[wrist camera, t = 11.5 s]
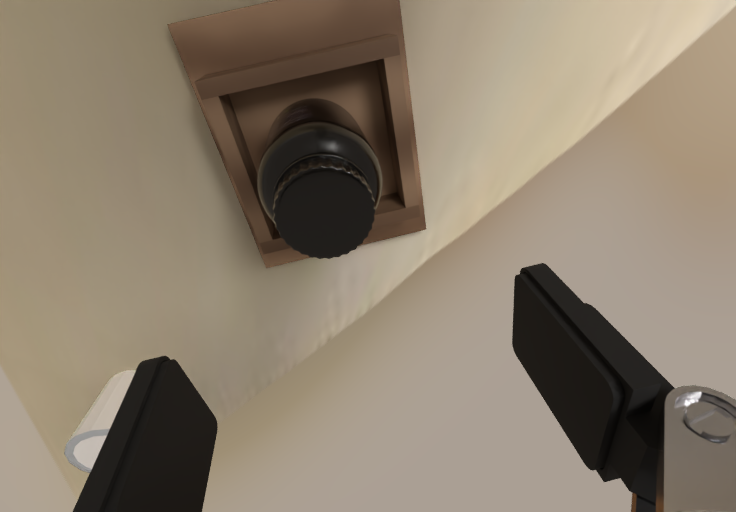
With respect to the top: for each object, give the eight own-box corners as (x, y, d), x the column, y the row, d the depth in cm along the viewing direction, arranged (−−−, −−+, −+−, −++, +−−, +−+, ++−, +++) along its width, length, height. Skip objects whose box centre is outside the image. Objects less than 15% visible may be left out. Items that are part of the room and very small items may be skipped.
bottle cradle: (171, 24, 24) (150, 25, 20) (392, -25, 24) (407, -32, 21) (267, 261, 33) (263, 288, 30) (423, 224, 34) (436, 246, 31)
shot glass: (186, 379, 39) (167, 443, 33) (158, 418, 42) (135, 484, 36) (115, 356, 36) (80, 421, 30) (88, 399, 39) (51, 467, 33)
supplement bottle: (381, 144, 29) (427, 214, 19) (318, 206, 30) (329, 301, 20) (312, 71, 25) (322, 108, 15) (246, 146, 27) (216, 222, 17)
